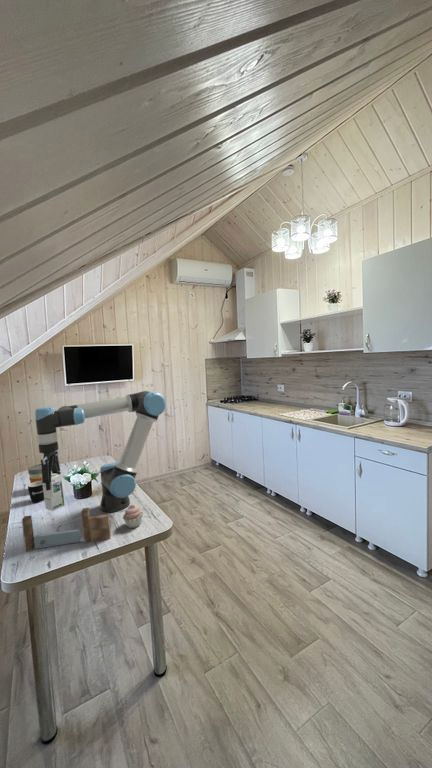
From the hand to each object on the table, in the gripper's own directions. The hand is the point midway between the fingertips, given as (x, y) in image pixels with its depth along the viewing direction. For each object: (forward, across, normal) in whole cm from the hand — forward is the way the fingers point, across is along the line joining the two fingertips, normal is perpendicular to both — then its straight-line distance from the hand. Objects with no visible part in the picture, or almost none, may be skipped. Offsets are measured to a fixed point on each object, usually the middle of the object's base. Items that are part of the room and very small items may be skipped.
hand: (53, 492), depth 141 cm
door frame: (+20, +8, +7) cm, 23 cm away
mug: (+21, -46, -24) cm, 56 cm away
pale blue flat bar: (+20, +8, +2) cm, 22 cm away
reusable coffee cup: (+20, -64, -30) cm, 73 cm away
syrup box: (+7, 0, 0) cm, 7 cm away
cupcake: (+20, 0, +33) cm, 39 cm away
